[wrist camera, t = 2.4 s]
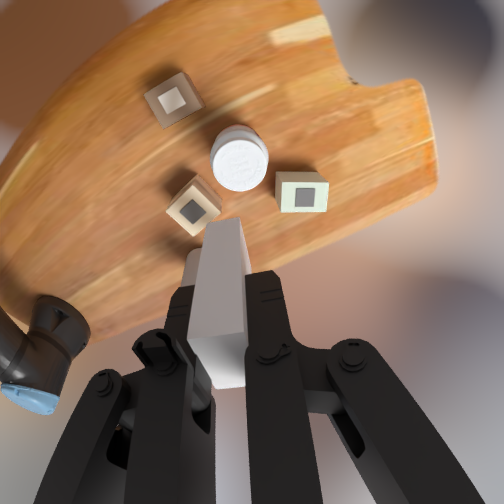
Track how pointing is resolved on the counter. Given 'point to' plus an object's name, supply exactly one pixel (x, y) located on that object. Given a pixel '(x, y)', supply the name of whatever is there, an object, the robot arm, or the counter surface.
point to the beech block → (195, 205)
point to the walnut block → (174, 99)
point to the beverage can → (191, 268)
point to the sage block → (301, 192)
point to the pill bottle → (239, 158)
